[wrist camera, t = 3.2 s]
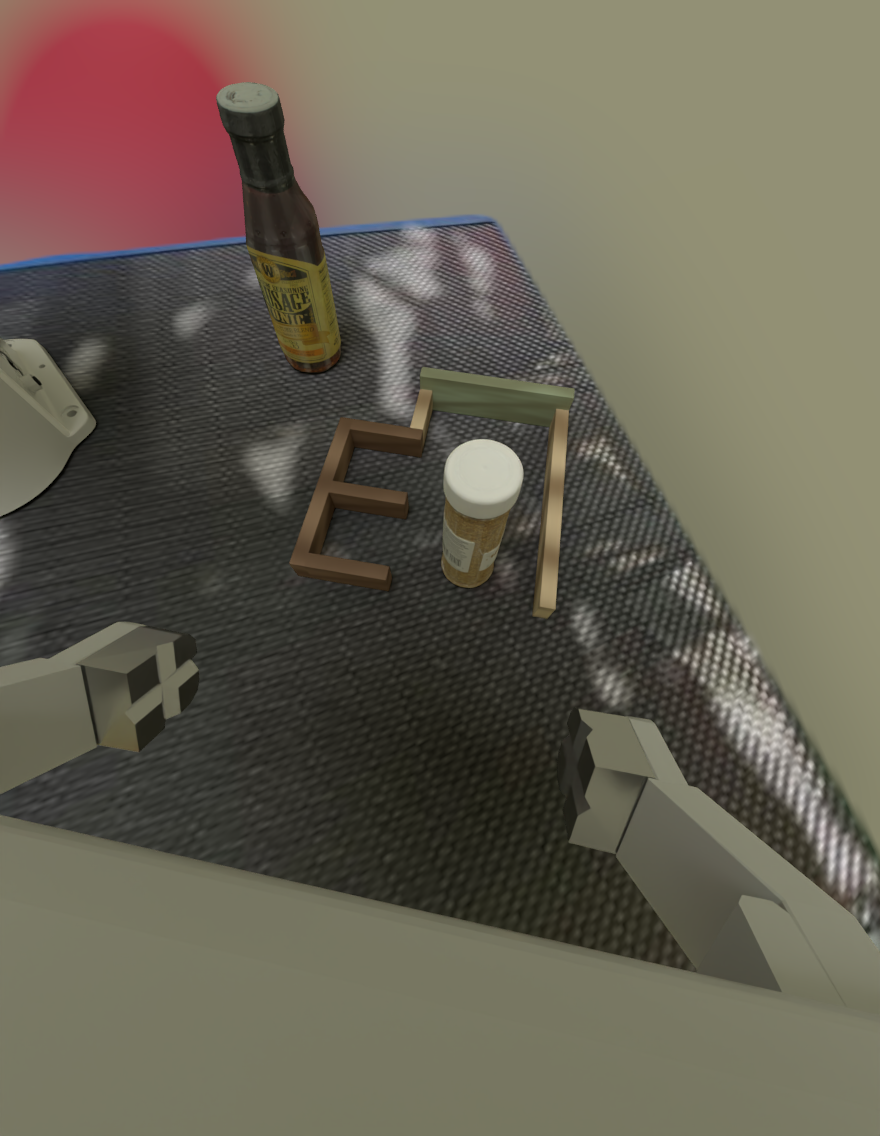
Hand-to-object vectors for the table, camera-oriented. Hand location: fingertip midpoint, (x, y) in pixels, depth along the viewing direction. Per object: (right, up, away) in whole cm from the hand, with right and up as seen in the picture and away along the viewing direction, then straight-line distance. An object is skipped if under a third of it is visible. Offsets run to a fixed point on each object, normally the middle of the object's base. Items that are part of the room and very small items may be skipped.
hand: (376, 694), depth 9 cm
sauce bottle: (-12, +26, +37) cm, 46 cm away
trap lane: (+2, +10, +30) cm, 32 cm away
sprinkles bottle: (+4, +3, +27) cm, 27 cm away
